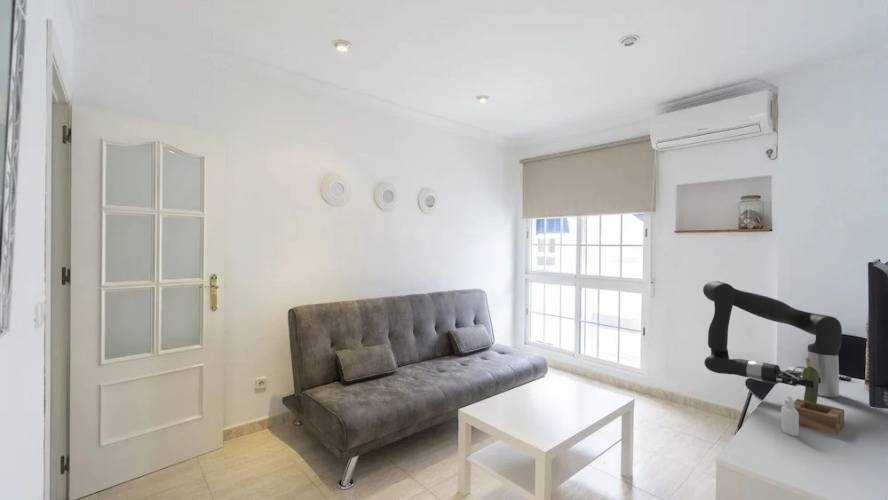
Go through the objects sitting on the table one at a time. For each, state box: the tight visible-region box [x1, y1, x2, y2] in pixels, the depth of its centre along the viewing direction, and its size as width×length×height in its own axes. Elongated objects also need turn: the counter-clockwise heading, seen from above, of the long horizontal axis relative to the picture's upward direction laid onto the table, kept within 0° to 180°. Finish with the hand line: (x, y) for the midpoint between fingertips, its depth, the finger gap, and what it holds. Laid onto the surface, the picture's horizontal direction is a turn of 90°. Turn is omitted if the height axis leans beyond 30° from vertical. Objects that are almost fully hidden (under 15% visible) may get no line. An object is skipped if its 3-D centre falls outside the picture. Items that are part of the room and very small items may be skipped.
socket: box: [793, 398, 845, 436], centre depth 133 cm, size 12×12×6 cm
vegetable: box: [802, 357, 819, 404], centre depth 144 cm, size 4×4×20 cm
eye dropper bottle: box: [780, 395, 800, 437], centre depth 126 cm, size 4×6×12 cm
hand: (817, 382), depth 143 cm, fingers open, 8 cm apart
